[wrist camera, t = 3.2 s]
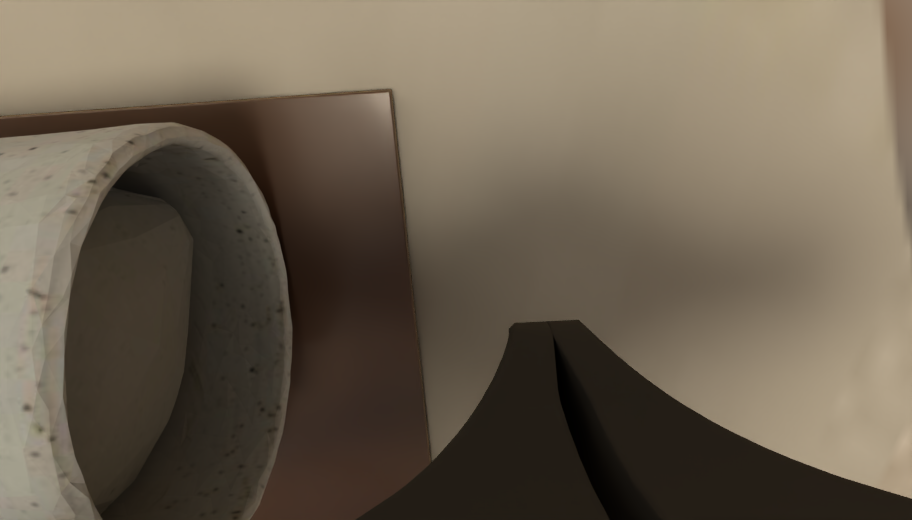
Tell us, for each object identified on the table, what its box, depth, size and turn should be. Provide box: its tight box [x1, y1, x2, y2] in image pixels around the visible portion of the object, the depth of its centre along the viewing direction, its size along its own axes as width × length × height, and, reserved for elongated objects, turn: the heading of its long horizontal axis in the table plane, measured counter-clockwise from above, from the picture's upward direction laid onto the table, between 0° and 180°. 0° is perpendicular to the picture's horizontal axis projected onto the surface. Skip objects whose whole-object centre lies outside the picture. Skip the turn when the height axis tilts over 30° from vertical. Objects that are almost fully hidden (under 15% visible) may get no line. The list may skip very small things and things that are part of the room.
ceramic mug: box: [0, 122, 292, 520], centre depth 12 cm, size 11×8×8 cm
